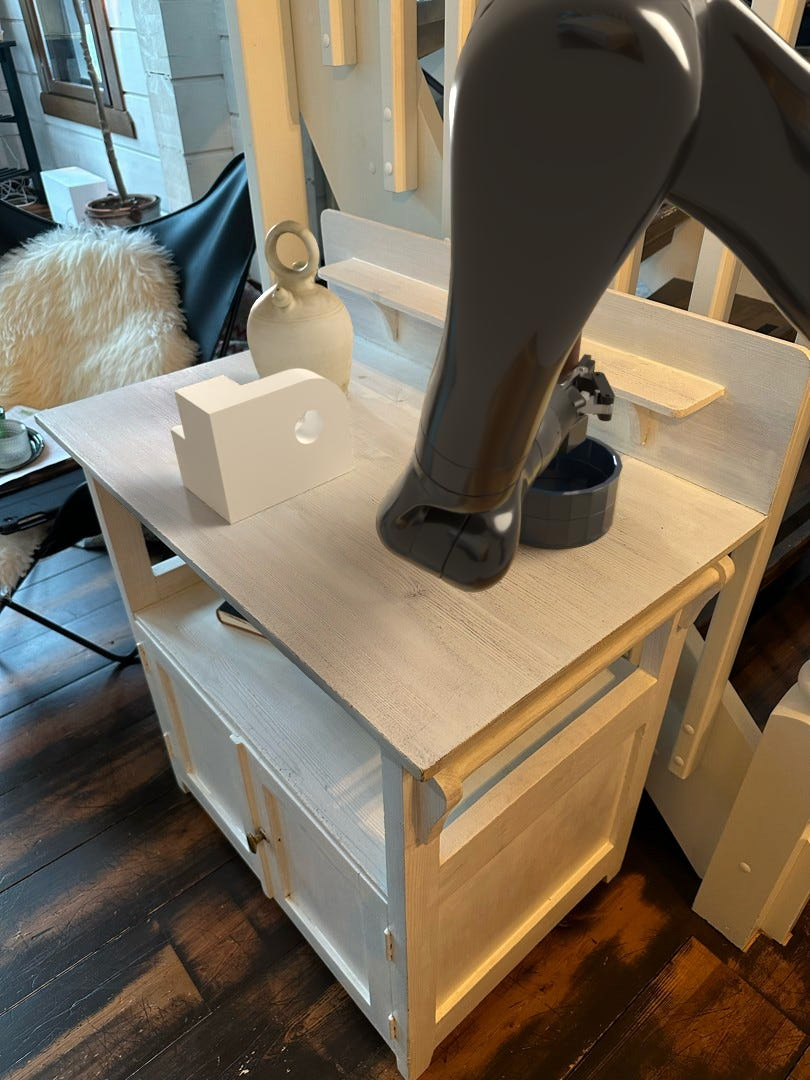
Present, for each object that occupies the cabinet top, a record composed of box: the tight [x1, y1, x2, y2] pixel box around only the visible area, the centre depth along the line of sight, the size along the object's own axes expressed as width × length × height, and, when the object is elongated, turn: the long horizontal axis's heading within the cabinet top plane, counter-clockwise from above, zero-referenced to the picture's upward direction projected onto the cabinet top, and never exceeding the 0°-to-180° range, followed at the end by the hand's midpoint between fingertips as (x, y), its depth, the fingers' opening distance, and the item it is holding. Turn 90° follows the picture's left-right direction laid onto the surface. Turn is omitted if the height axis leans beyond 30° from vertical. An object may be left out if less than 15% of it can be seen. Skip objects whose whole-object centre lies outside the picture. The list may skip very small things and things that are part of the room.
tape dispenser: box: [169, 368, 355, 525], centre depth 92 cm, size 18×12×14 cm, turn 131°
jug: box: [246, 219, 355, 397], centre depth 108 cm, size 15×16×25 cm
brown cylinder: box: [558, 330, 590, 454], centre depth 78 cm, size 5×4×14 cm
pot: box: [519, 434, 624, 550], centre depth 86 cm, size 14×14×7 cm
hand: (570, 361), depth 80 cm, fingers closed on brown cylinder, 3 cm apart
